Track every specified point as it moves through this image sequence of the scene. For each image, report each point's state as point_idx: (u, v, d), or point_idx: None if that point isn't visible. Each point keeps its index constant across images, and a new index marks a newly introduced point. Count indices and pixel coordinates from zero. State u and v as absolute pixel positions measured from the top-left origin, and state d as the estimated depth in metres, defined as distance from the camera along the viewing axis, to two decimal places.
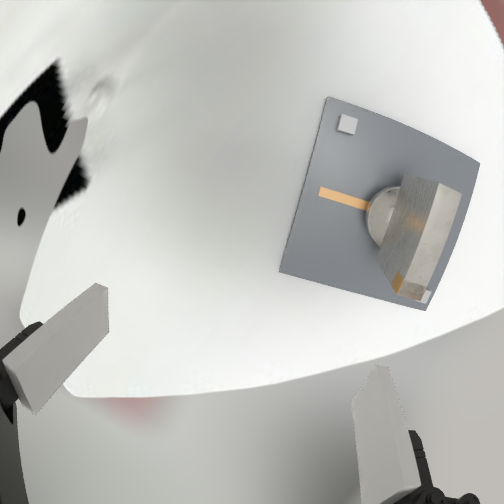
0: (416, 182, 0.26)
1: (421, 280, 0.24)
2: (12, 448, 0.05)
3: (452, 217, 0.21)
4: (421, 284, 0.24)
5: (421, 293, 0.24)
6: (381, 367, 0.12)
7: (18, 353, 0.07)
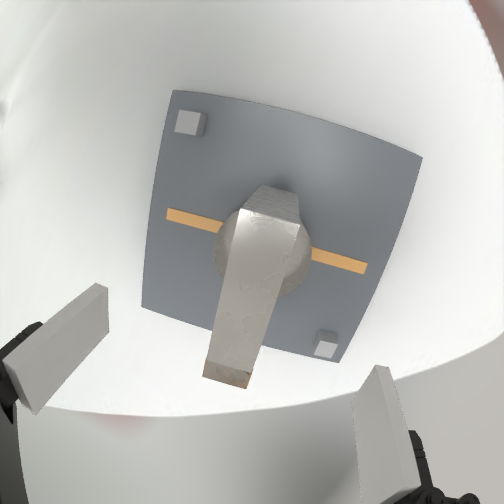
0: None
1: (237, 364, 0.16)
2: (12, 448, 0.05)
3: (280, 270, 0.14)
4: (239, 369, 0.17)
5: (243, 380, 0.17)
6: (381, 367, 0.12)
7: (18, 353, 0.07)
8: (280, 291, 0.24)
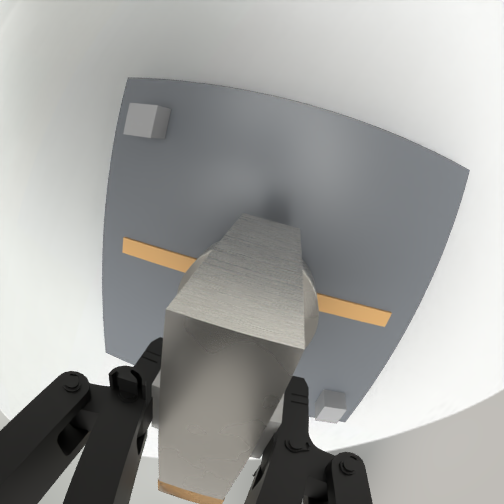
0: None
1: (202, 491, 0.09)
2: (131, 480, 0.06)
3: (261, 417, 0.06)
4: (206, 495, 0.09)
5: (213, 502, 0.09)
6: None
7: None
8: None
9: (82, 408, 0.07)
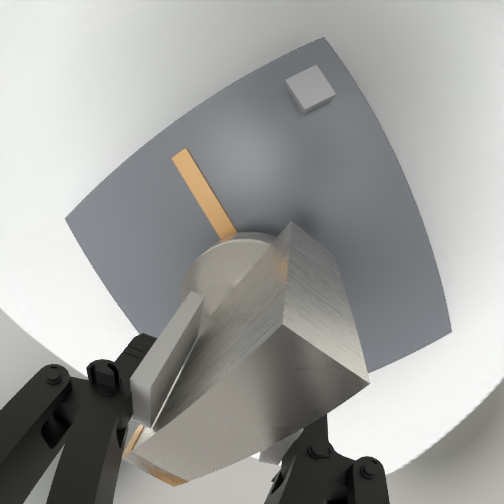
0: (279, 258, 0.11)
1: (173, 470, 0.09)
2: (113, 474, 0.06)
3: (296, 425, 0.07)
4: (174, 474, 0.09)
5: (174, 481, 0.10)
6: None
7: (146, 369, 0.09)
8: None
9: (62, 400, 0.07)
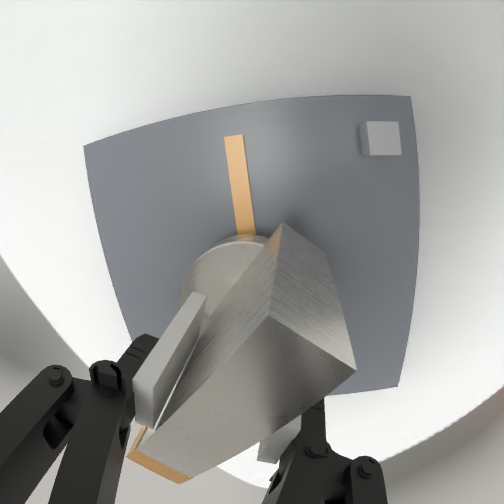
0: (269, 258, 0.11)
1: (177, 467, 0.10)
2: (115, 474, 0.06)
3: (290, 414, 0.07)
4: (178, 470, 0.10)
5: (179, 478, 0.10)
6: None
7: (148, 369, 0.09)
8: None
9: (65, 401, 0.07)
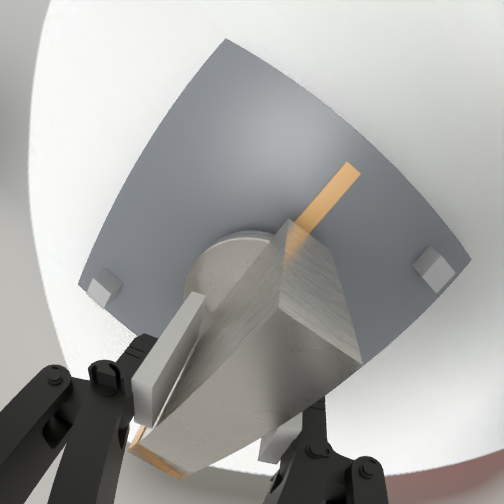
0: (276, 253, 0.11)
1: (178, 461, 0.10)
2: (115, 474, 0.06)
3: (295, 408, 0.07)
4: (179, 465, 0.10)
5: (180, 473, 0.10)
6: None
7: (147, 369, 0.09)
8: None
9: (64, 401, 0.07)
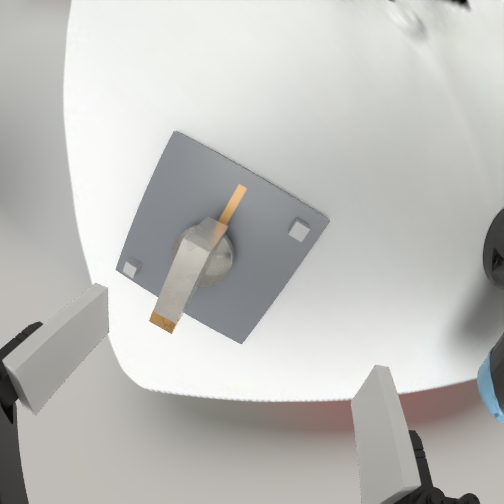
0: None
1: (169, 316, 0.30)
2: (12, 448, 0.05)
3: (197, 271, 0.28)
4: (170, 320, 0.30)
5: (171, 327, 0.30)
6: (381, 367, 0.12)
7: (18, 353, 0.07)
8: (208, 283, 0.38)
9: None
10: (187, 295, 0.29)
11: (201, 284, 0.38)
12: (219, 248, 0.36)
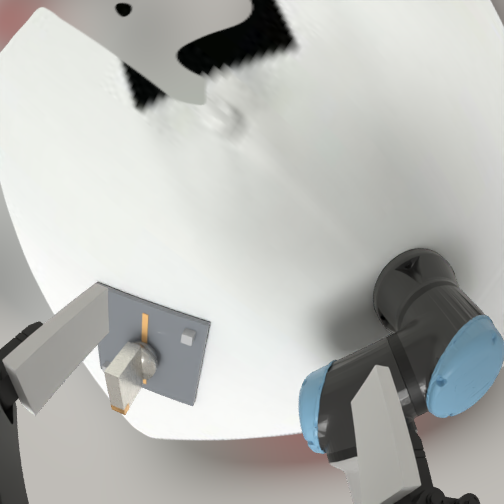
0: None
1: (119, 407, 0.43)
2: (12, 448, 0.05)
3: (118, 386, 0.41)
4: (120, 408, 0.43)
5: (123, 412, 0.43)
6: (381, 367, 0.12)
7: (18, 353, 0.07)
8: (146, 377, 0.51)
9: None
10: (120, 397, 0.42)
11: (143, 378, 0.51)
12: (142, 358, 0.49)
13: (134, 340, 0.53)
